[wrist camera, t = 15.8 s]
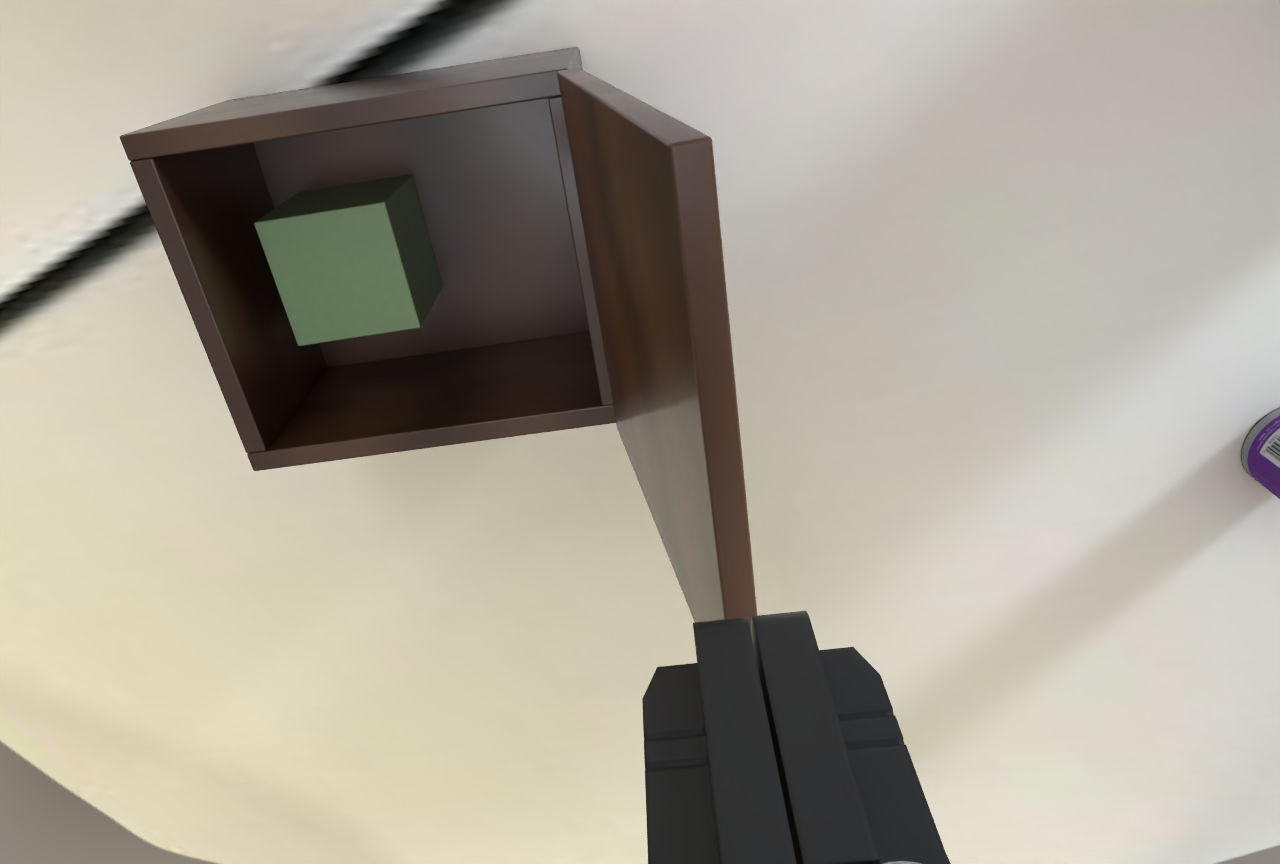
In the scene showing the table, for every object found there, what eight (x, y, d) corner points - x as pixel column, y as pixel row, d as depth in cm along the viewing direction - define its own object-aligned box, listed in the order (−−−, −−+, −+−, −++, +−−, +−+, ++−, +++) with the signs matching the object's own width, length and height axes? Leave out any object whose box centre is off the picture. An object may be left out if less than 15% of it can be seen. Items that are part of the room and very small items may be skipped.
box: (321, 378, 42) (253, 471, 34) (226, 100, 36) (118, 136, 28) (624, 336, 41) (626, 422, 33) (578, 46, 35) (568, 67, 27)
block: (296, 192, 37) (252, 222, 32) (412, 173, 36) (384, 201, 32) (334, 304, 39) (297, 346, 35) (443, 287, 39) (420, 327, 34)
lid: (737, 731, 19) (768, 723, 19) (668, 144, 13) (712, 135, 13) (617, 429, 33) (635, 424, 33) (556, 70, 27) (578, 67, 27)
